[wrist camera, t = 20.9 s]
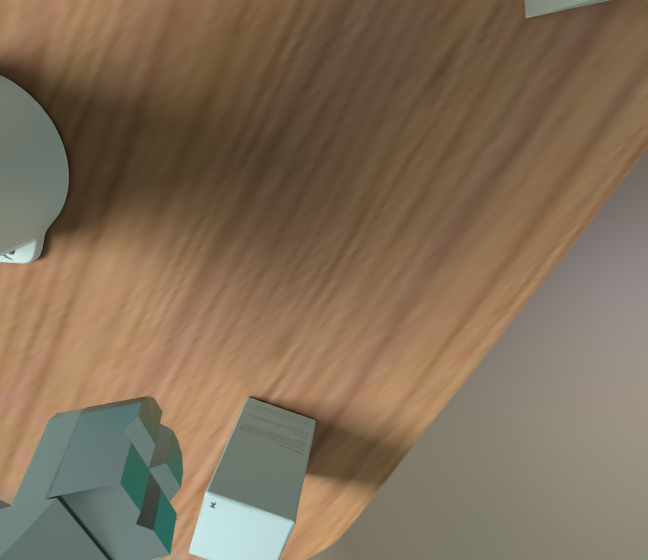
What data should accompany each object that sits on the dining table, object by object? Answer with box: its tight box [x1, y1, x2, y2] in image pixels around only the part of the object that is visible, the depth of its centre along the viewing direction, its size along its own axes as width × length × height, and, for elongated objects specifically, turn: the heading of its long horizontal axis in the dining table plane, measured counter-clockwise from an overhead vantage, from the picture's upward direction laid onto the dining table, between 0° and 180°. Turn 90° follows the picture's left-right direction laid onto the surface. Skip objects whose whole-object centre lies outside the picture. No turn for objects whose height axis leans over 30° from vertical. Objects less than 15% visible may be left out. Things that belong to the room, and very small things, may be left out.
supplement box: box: [189, 397, 316, 560], centre depth 48 cm, size 7×7×13 cm
